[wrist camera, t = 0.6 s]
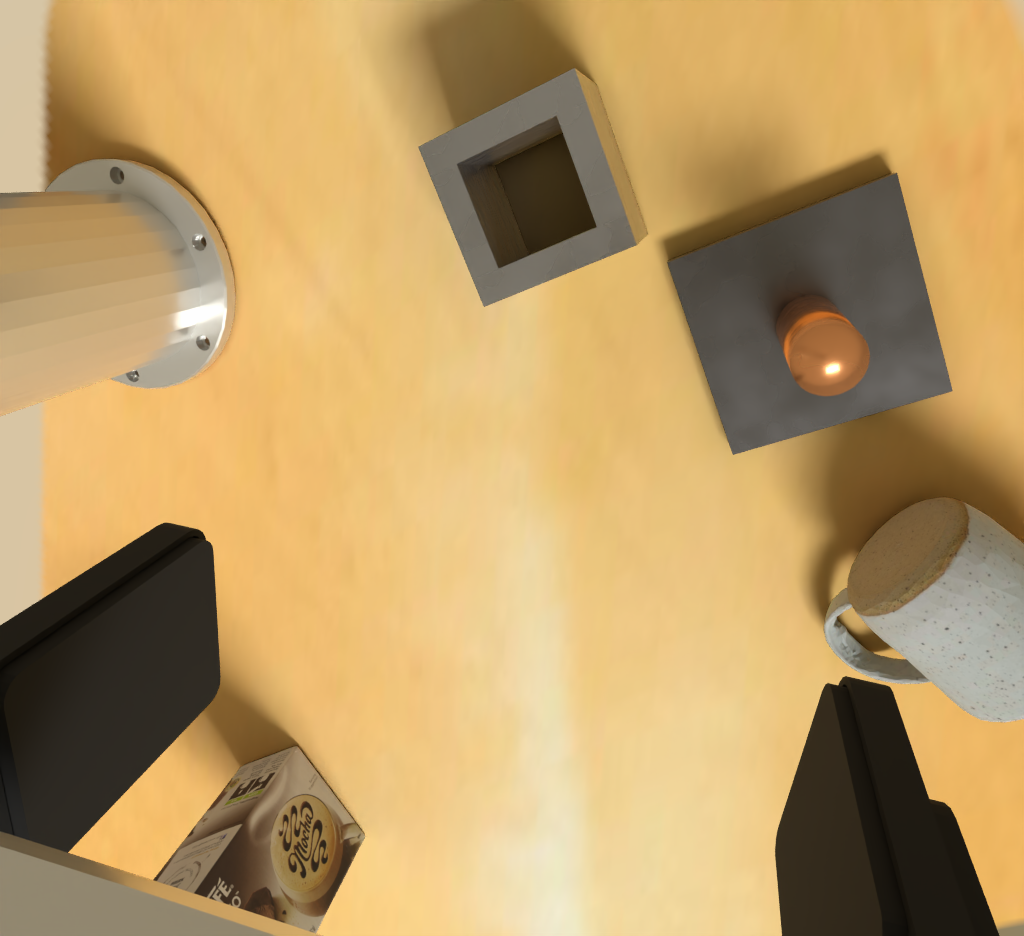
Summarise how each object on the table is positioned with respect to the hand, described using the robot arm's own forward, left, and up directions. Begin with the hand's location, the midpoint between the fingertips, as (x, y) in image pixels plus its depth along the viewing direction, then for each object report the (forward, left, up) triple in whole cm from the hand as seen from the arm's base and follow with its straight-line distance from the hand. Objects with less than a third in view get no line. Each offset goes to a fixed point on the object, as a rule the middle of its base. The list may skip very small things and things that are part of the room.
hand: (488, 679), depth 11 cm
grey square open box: (-2, +8, -29) cm, 30 cm away
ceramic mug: (+9, -18, -29) cm, 35 cm away
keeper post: (+7, -2, -29) cm, 30 cm away
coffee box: (-35, -24, -29) cm, 52 cm away
